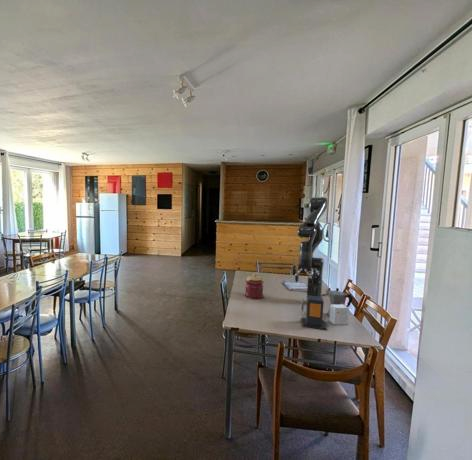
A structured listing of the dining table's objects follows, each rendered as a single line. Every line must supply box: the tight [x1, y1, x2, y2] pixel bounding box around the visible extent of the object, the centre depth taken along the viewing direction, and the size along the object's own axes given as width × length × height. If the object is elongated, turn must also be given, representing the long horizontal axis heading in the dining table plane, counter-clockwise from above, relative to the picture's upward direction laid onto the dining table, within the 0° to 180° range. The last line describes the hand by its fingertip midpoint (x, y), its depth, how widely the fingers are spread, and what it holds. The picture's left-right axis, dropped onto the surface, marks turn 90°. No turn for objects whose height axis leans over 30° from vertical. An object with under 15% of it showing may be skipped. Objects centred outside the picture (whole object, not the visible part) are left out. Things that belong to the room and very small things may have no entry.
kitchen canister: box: [244, 273, 264, 300], centre depth 221 cm, size 13×13×18 cm
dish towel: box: [282, 280, 307, 292], centre depth 247 cm, size 17×24×3 cm
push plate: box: [300, 298, 305, 312], centre depth 173 cm, size 6×1×5 cm, turn 159°
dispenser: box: [301, 294, 327, 331], centre depth 171 cm, size 12×12×16 cm
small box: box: [329, 303, 349, 326], centre depth 173 cm, size 8×6×10 cm
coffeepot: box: [325, 287, 354, 317], centre depth 183 cm, size 15×9×18 cm, turn 43°
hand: (303, 282), depth 186 cm, fingers open, 8 cm apart
